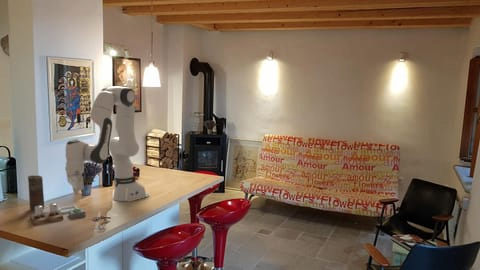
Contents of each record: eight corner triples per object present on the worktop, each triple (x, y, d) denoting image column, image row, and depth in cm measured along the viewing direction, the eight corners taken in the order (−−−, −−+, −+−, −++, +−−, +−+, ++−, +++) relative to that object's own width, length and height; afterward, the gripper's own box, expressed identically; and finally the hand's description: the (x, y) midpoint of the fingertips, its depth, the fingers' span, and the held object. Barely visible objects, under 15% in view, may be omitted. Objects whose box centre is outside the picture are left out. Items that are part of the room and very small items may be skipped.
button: (79, 212, 205) (78, 207, 204) (80, 213, 202) (80, 208, 202) (73, 213, 203) (73, 208, 202) (74, 214, 201) (74, 209, 200)
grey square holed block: (82, 213, 208) (82, 208, 207) (85, 216, 202) (85, 211, 202) (68, 215, 203) (68, 210, 203) (71, 219, 198) (71, 214, 198)
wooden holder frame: (58, 213, 206) (58, 209, 205) (63, 220, 196) (63, 216, 196) (30, 219, 197) (30, 214, 197) (33, 226, 188) (33, 221, 188)
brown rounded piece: (31, 208, 214) (29, 174, 212) (45, 206, 217) (43, 173, 214) (28, 212, 207) (26, 178, 205) (43, 211, 210) (41, 177, 207)
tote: (75, 207, 216) (75, 205, 216) (78, 211, 210) (78, 209, 210) (58, 210, 211) (58, 208, 211) (61, 214, 204) (61, 212, 204)
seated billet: (42, 219, 197) (41, 205, 196) (43, 221, 194) (43, 206, 193) (35, 220, 195) (34, 206, 194) (36, 222, 192) (35, 208, 191)
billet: (56, 216, 201) (56, 202, 200) (58, 218, 199) (57, 204, 198) (49, 218, 199) (48, 203, 198) (50, 220, 196) (50, 205, 195)
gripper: (86, 172, 193) (87, 198, 195) (76, 165, 209) (77, 189, 211) (73, 174, 189) (74, 200, 191) (64, 166, 205) (65, 190, 207)
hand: (75, 194), depth 201 cm, fingers closed
